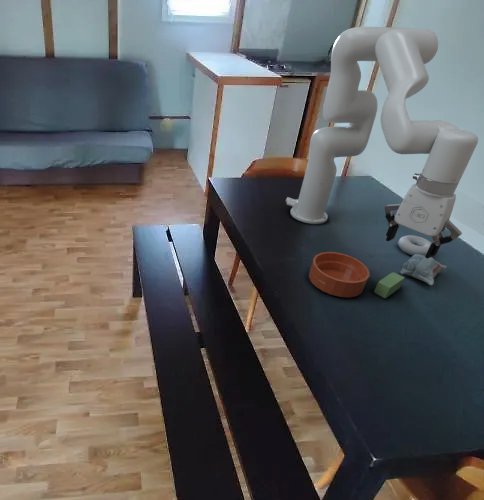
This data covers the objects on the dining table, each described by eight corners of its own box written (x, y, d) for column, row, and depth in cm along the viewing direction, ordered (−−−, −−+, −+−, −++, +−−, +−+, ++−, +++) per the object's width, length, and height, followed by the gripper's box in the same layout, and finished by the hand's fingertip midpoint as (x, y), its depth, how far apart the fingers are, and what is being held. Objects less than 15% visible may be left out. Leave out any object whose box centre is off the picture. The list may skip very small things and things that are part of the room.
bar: (385, 298, 108) (389, 288, 106) (373, 292, 110) (378, 281, 108) (399, 288, 112) (404, 277, 110) (388, 282, 114) (393, 271, 112)
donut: (402, 257, 125) (437, 261, 123) (406, 247, 123) (442, 251, 121) (392, 240, 133) (425, 244, 131) (396, 231, 131) (429, 235, 130)
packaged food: (443, 274, 118) (450, 260, 115) (428, 290, 111) (436, 276, 108) (410, 261, 123) (417, 247, 120) (395, 276, 116) (401, 262, 114)
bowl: (300, 284, 112) (305, 267, 109) (318, 261, 121) (323, 246, 118) (354, 306, 104) (361, 289, 101) (368, 281, 114) (375, 265, 111)
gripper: (391, 176, 98) (368, 237, 107) (472, 202, 86) (439, 268, 95) (405, 170, 101) (382, 229, 111) (485, 194, 90) (452, 258, 99)
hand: (408, 247), depth 103 cm, fingers open, 9 cm apart
